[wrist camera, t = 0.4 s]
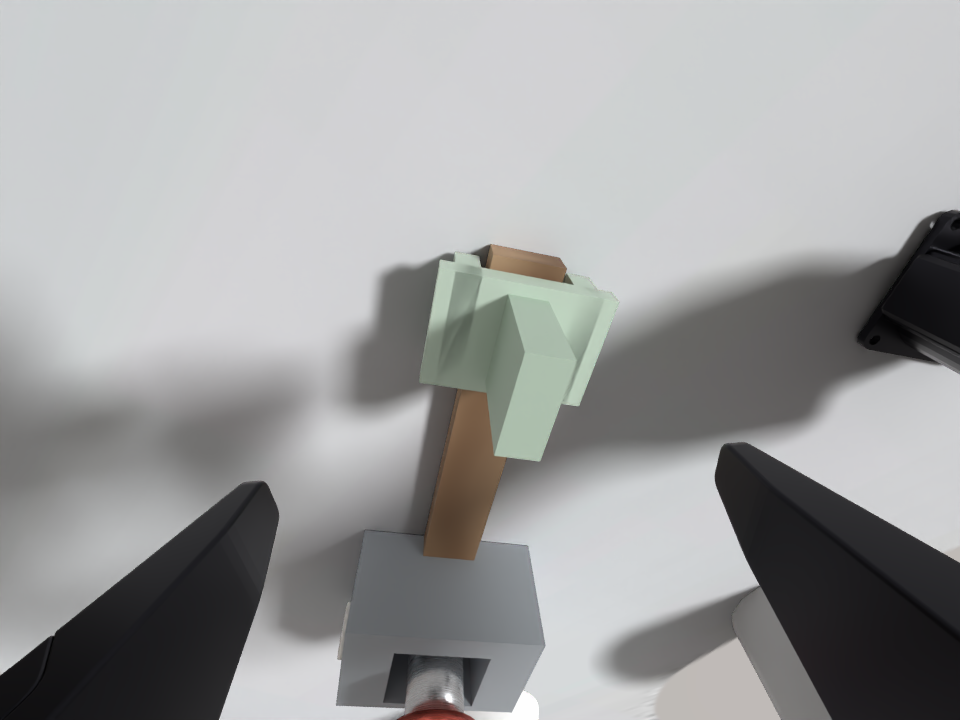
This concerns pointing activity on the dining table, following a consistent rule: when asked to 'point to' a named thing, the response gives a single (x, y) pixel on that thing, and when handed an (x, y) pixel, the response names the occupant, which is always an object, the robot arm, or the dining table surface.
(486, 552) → the housing
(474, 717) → the mug
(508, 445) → the carriage
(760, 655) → the cup
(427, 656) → the plunger
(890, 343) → the robot arm
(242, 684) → the dining table surface
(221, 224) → the dining table surface
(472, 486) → the rail
